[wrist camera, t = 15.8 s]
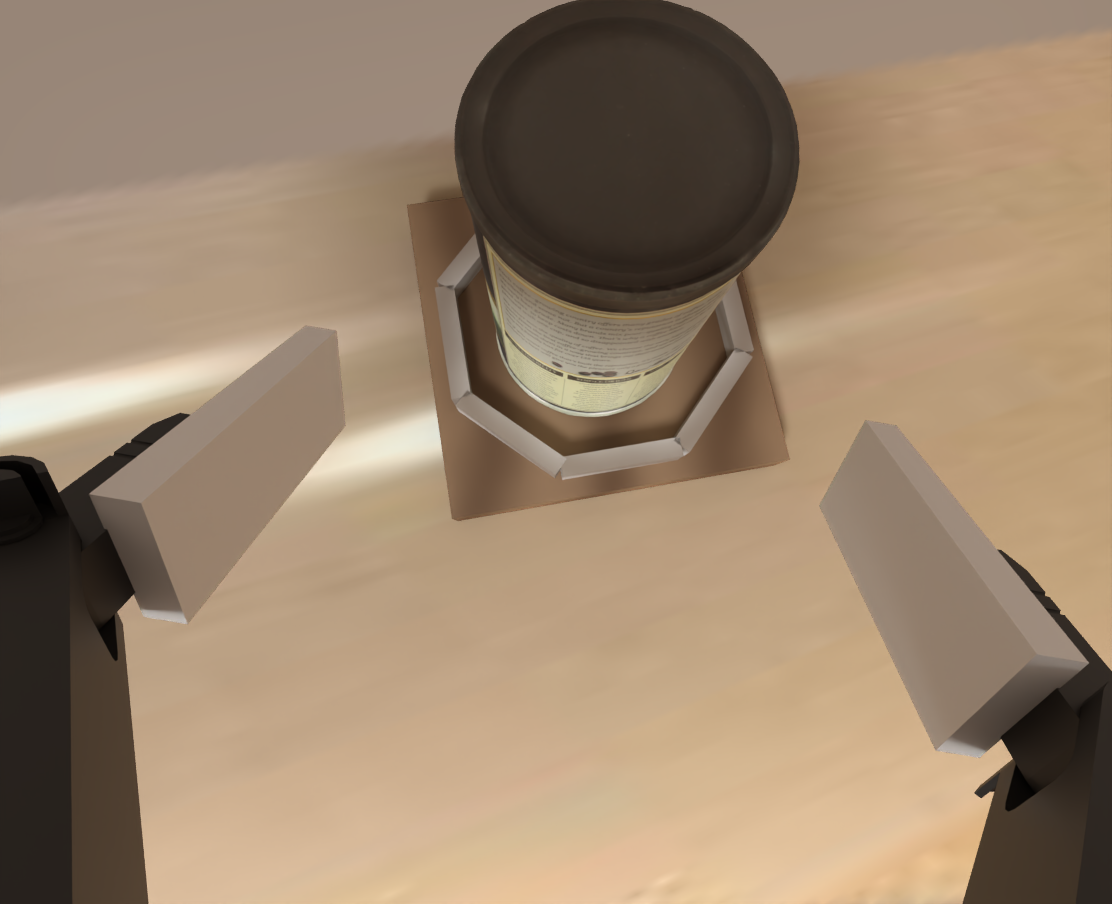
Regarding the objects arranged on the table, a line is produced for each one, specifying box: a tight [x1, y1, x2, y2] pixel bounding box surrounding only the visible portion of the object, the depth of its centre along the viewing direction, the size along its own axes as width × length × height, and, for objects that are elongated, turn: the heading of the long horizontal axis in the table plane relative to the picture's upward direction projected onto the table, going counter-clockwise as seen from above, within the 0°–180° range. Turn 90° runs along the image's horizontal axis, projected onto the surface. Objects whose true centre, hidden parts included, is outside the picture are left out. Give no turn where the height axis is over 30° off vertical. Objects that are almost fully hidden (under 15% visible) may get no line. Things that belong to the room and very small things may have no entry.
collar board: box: [407, 197, 790, 521], centre depth 30 cm, size 18×18×3 cm
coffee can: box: [455, 0, 799, 417], centre depth 23 cm, size 10×10×14 cm
